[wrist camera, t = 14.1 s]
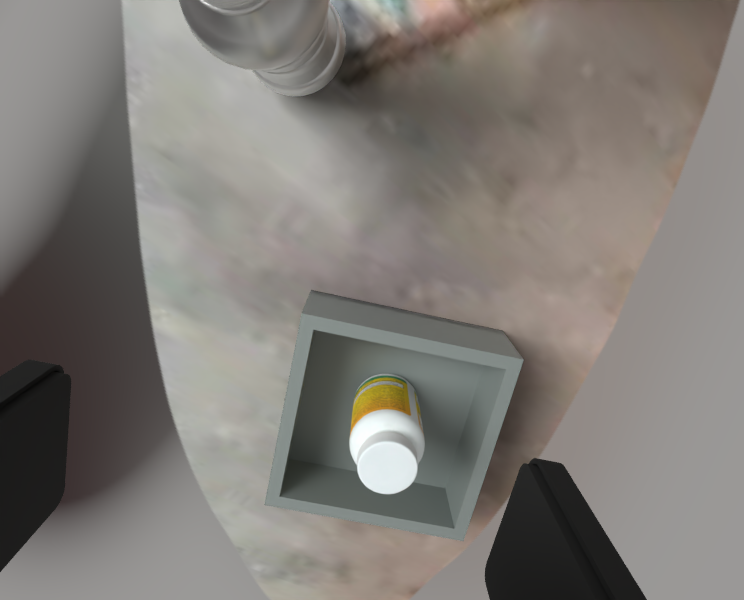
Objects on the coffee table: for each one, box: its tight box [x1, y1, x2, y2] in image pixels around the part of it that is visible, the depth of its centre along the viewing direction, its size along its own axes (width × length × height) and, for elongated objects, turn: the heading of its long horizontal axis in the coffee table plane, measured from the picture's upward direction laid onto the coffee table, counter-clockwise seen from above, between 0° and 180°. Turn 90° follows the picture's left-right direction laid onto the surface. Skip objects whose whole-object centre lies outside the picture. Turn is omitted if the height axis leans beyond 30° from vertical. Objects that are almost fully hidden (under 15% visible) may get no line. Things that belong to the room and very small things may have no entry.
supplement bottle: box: [349, 374, 425, 494], centre depth 38 cm, size 5×5×10 cm
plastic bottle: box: [179, 0, 346, 97], centre depth 26 cm, size 6×7×20 cm
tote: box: [265, 290, 524, 541], centre depth 41 cm, size 16×16×6 cm
